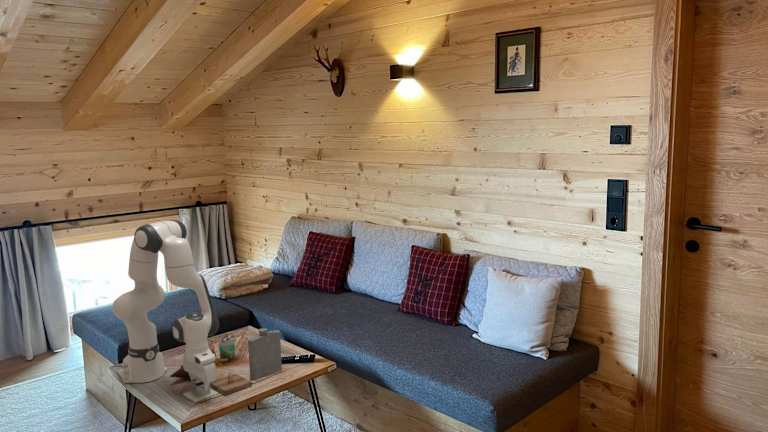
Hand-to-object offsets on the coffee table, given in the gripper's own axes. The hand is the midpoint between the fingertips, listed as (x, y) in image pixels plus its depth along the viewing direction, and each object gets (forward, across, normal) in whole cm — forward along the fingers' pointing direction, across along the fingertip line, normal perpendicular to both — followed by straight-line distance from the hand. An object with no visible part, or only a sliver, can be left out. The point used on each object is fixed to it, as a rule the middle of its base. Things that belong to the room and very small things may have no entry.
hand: (200, 386), depth 241 cm
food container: (+4, -24, +28) cm, 37 cm away
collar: (+3, 0, 0) cm, 3 cm away
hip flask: (+4, +3, +29) cm, 29 cm away
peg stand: (+3, +3, +12) cm, 13 cm away
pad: (+3, 0, 0) cm, 3 cm away
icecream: (+4, -18, +4) cm, 19 cm away
